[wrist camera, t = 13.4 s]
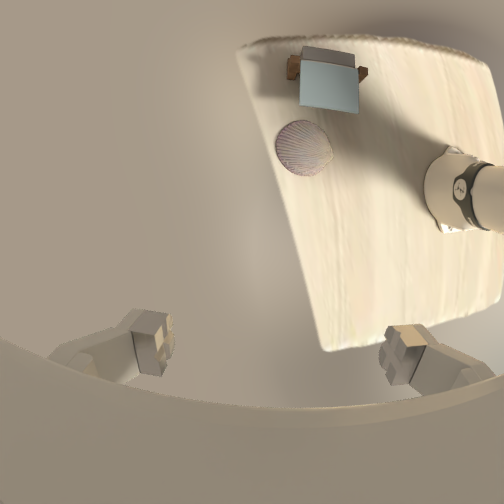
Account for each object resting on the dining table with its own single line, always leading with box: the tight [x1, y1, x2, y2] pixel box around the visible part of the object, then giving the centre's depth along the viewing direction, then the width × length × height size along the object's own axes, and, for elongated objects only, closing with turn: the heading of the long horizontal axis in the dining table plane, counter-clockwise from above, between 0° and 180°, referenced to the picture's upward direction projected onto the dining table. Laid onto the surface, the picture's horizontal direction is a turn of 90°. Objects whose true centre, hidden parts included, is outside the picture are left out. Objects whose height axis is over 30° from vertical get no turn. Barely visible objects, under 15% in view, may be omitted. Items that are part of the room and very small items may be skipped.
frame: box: [287, 55, 368, 83], centre depth 37 cm, size 13×4×8 cm, turn 87°
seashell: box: [276, 120, 333, 176], centre depth 44 cm, size 10×6×10 cm
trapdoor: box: [299, 46, 359, 114], centre depth 37 cm, size 9×11×5 cm
